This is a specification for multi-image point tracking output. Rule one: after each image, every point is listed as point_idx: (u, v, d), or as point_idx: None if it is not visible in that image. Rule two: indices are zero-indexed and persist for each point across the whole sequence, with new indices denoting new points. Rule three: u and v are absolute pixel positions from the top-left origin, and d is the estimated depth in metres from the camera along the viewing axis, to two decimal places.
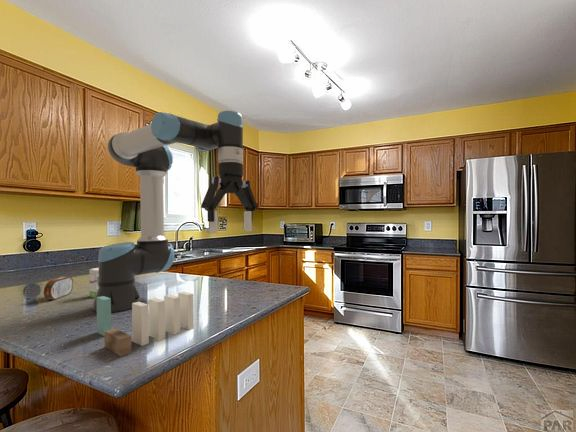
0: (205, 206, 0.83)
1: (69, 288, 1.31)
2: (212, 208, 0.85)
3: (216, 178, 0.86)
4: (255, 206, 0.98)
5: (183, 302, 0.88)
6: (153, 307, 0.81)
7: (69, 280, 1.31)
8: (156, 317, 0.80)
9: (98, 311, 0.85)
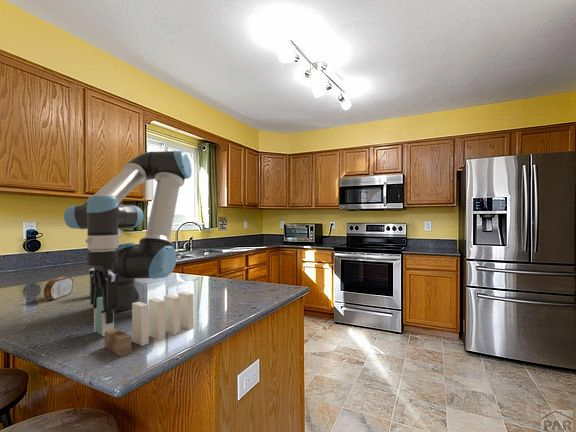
0: None
1: (69, 288, 1.31)
2: (93, 306, 0.86)
3: None
4: (107, 307, 0.80)
5: (183, 302, 0.88)
6: (153, 307, 0.81)
7: (69, 280, 1.31)
8: (156, 317, 0.80)
9: (98, 311, 0.85)
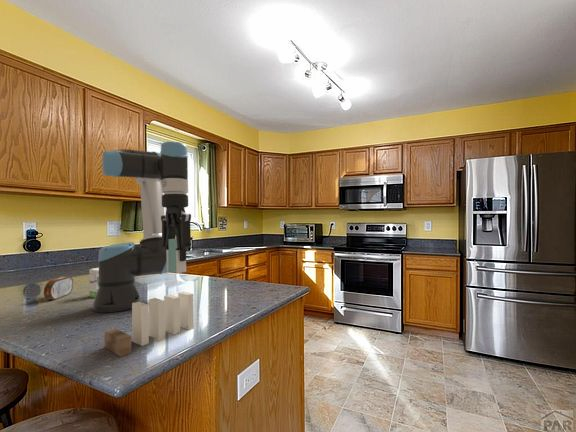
0: None
1: (69, 288, 1.31)
2: (165, 248, 0.91)
3: (161, 217, 0.93)
4: (181, 244, 0.85)
5: (183, 302, 0.88)
6: (153, 307, 0.81)
7: (69, 280, 1.31)
8: (156, 317, 0.80)
9: (170, 251, 0.90)
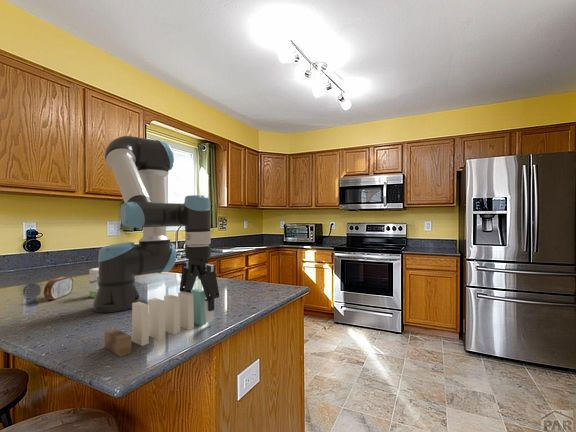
0: None
1: (69, 288, 1.31)
2: None
3: (182, 264, 0.95)
4: (211, 296, 0.87)
5: (183, 302, 0.88)
6: (153, 307, 0.81)
7: (69, 280, 1.31)
8: (156, 317, 0.80)
9: (193, 302, 0.92)
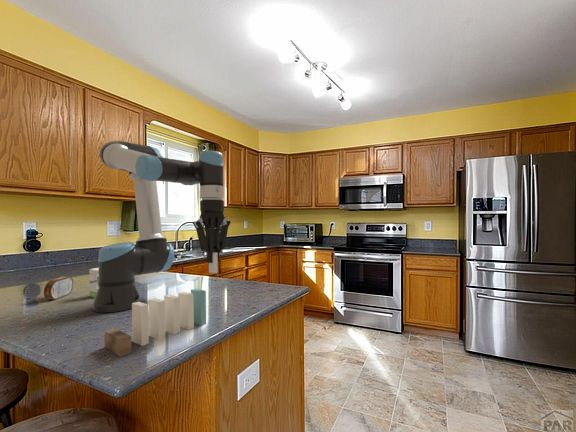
0: (204, 250, 0.93)
1: (69, 288, 1.31)
2: (211, 251, 0.95)
3: (198, 223, 0.91)
4: (222, 246, 0.98)
5: (183, 302, 0.88)
6: (153, 307, 0.81)
7: (69, 280, 1.31)
8: (156, 317, 0.80)
9: None
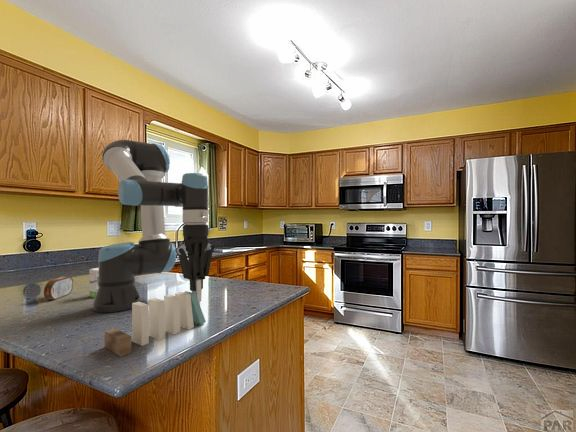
0: (187, 278, 0.88)
1: (69, 288, 1.31)
2: (194, 279, 0.90)
3: (181, 251, 0.86)
4: (206, 272, 0.93)
5: (181, 303, 0.87)
6: (153, 307, 0.81)
7: (69, 280, 1.31)
8: (156, 317, 0.80)
9: None
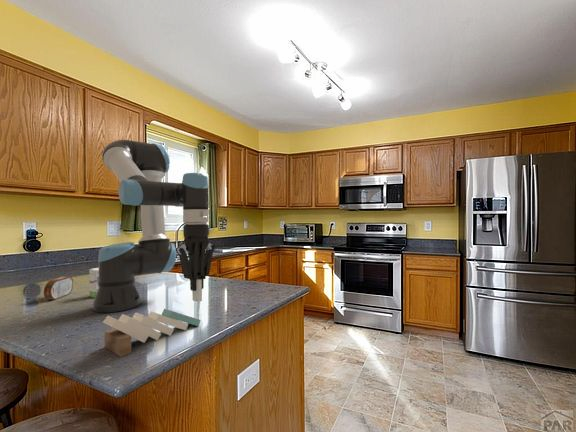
0: (187, 277, 0.88)
1: (69, 288, 1.31)
2: (195, 279, 0.90)
3: (181, 250, 0.86)
4: (207, 272, 0.93)
5: None
6: None
7: (69, 280, 1.31)
8: None
9: None
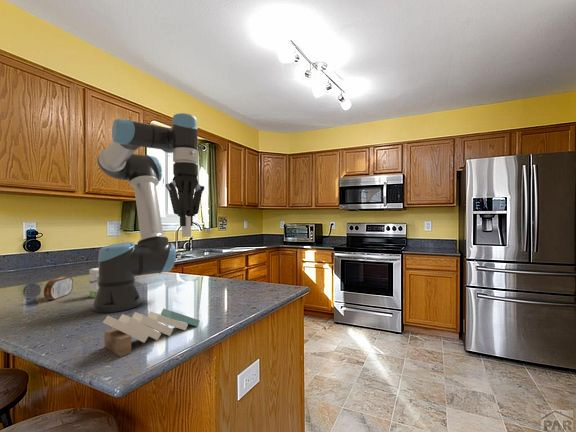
0: (177, 212, 0.93)
1: (69, 288, 1.31)
2: (184, 215, 0.94)
3: (171, 185, 0.91)
4: (196, 211, 0.98)
5: None
6: None
7: (69, 280, 1.31)
8: None
9: None
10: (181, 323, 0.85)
